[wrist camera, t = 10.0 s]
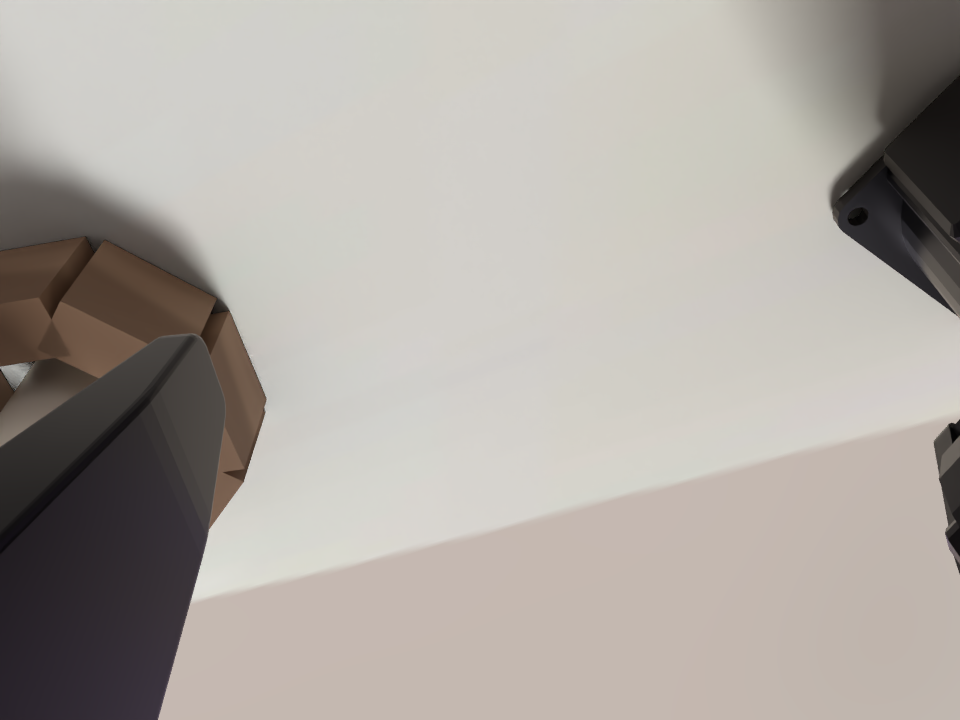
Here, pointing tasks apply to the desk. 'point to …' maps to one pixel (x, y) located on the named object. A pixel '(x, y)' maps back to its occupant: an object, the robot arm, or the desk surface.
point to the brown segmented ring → (123, 330)
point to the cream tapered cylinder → (41, 395)
